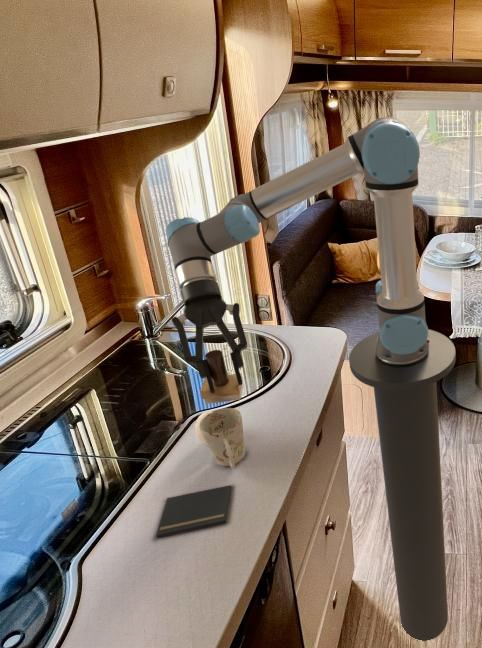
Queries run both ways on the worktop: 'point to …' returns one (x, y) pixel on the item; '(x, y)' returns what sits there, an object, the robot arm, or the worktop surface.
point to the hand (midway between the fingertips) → (226, 387)
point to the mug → (224, 435)
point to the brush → (220, 381)
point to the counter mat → (194, 511)
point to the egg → (197, 428)
